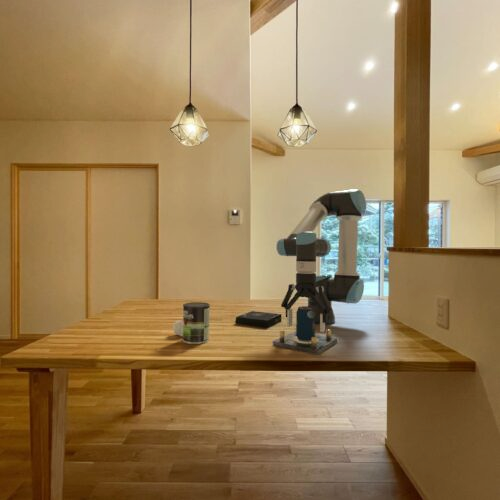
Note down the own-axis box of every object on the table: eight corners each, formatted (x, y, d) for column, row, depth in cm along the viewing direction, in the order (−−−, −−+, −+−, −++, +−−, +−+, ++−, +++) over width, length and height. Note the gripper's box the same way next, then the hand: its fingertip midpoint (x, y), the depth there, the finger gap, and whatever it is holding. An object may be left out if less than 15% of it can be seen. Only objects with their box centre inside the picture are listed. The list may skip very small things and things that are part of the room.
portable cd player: (251, 318, 166) (251, 310, 166) (281, 322, 158) (281, 314, 158) (235, 325, 152) (235, 316, 152) (267, 329, 144) (267, 320, 144)
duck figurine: (202, 339, 133) (204, 315, 140) (200, 332, 127) (202, 307, 134) (173, 339, 132) (177, 315, 139) (170, 332, 126) (174, 306, 133)
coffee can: (192, 346, 117) (193, 307, 117) (177, 340, 124) (177, 304, 124) (214, 340, 124) (215, 304, 124) (199, 335, 131) (199, 301, 131)
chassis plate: (295, 334, 133) (295, 322, 133) (337, 342, 122) (337, 329, 122) (272, 345, 118) (272, 331, 118) (317, 354, 108) (317, 340, 108)
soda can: (317, 341, 118) (317, 308, 118) (300, 342, 116) (300, 309, 116) (310, 336, 125) (310, 305, 125) (293, 337, 123) (293, 306, 123)
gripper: (272, 271, 125) (272, 325, 125) (334, 274, 110) (333, 336, 110) (282, 270, 131) (282, 322, 131) (341, 273, 116) (341, 331, 116)
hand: (305, 328), depth 120 cm, fingers open, 13 cm apart
